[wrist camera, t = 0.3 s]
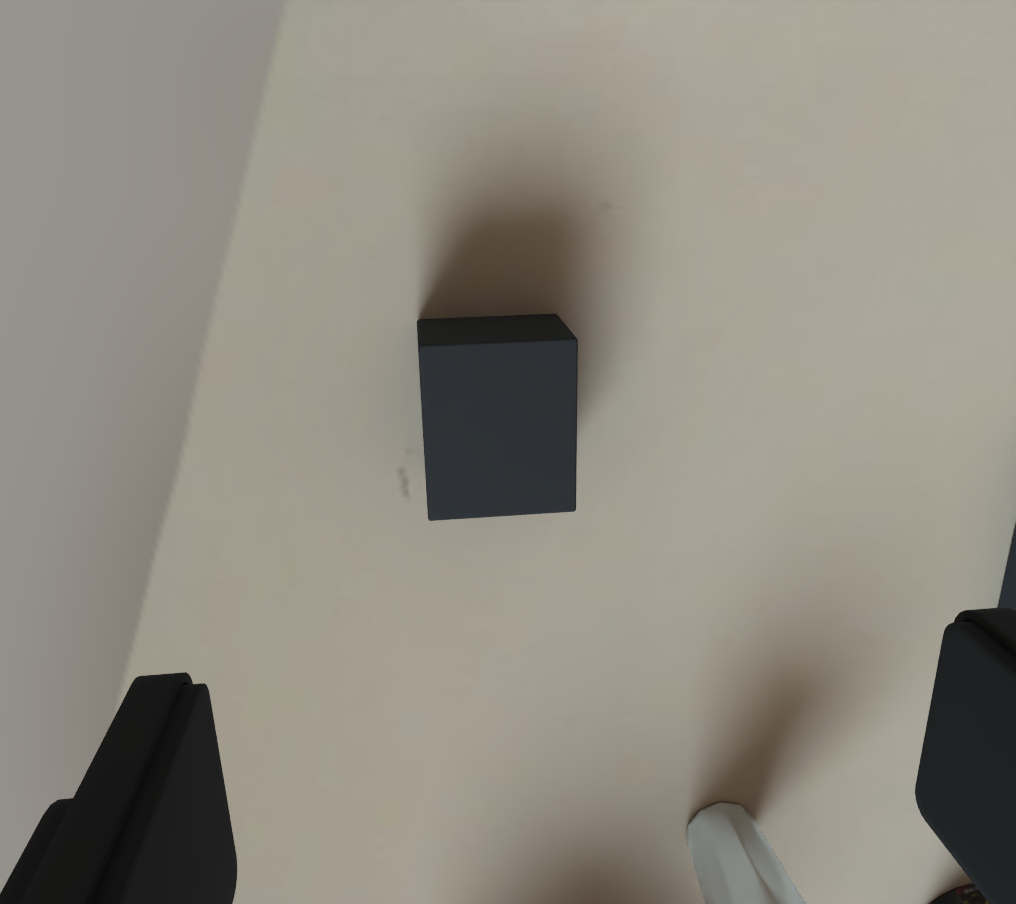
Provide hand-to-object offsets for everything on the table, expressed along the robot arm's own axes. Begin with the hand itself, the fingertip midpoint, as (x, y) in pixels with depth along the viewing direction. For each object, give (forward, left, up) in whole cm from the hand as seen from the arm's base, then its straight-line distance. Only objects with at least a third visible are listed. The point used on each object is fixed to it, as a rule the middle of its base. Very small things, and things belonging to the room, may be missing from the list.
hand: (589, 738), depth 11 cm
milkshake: (+24, +11, -21) cm, 34 cm away
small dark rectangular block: (+2, +1, -21) cm, 21 cm away
